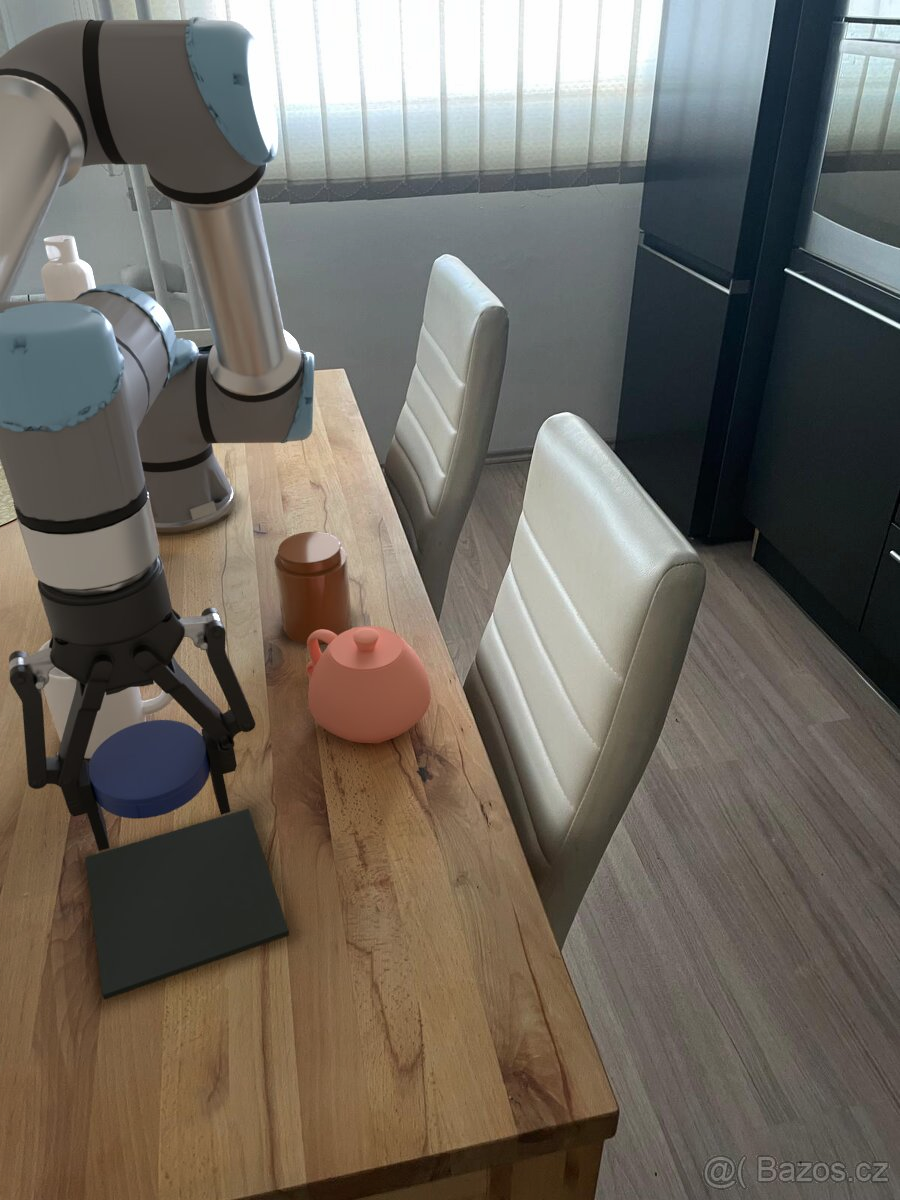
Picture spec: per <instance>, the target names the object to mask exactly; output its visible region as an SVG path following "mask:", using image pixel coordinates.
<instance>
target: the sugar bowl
mask: <svg viewBox="0 0 900 1200" xmlns="http://www.w3.org/2000/svg"><path fill="white" fill-rule="evenodd" d="M318 639H319V640H322V641H324V642H326V643H325V644H327V647H326V648H325V649H324V651H323V652H322V651H321V648H320V644H318ZM306 648H307V653H308V655H309V658H310V661H308V663H307V664H306V666H305V667H306V668H305V672H306V675H307V676H308V677H309V678H310V680H309V684H308V693H307V696H308V697H307V699H308V701H307V702H308V708H309V712H310V713H311V715H312V717H313V719H314V720H315V721H316V722H317V724H319V726H320V727H322V728H323V729H325V730H326V731H327V732H329V733H330V734H333V736H336V737H339V738H341V739H344V740H346V741H349V742H355V743H362V744H381V743H383V742H385V741H389V740H391V739H394V738H396V737H399V736H401V735H402V734H404V733H406V732H407V731H408V730H410V729H412V728H413V727H414V726H415V725H416V724H417V723H419V721H421V719H422V718H423V717H424V716H425V714H426V712H427V711H428V708H429V706H430V703H431V698H432V690H431V683H430V680H429V675H428V672H427V669H426V668H425V666H424V663H423V662H422V660H421V658H420V657H419V655H418V654H417V653H416V652H415V650H414V649H413V648H412V647H411V646H410V644H408V642H407V641H406V640H405V639H404V638H402V637H401V636H400V635H399V634H398V633H396V632H394V631H393V630H390V629H388V628H385V627H381V626H377V625H363V626H356V627H352V628H350V629H349V630H347V631H345V632H343V633H341V634H339V635H338V636H337V635H336V634H335V633H333V632H331V631H329V630H324V629H321V630H317V631H315V632H313V633H312V634H311V635H310V636H309V638H308V640H307V644H306Z"/></svg>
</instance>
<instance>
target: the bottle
mask: <svg viewBox="0 0 900 1200" xmlns="http://www.w3.org/2000/svg"><path fill="white" fill-rule="evenodd" d="M43 243H44V249H45V252H46V257H47V260H48V262H46V263H45V264H44V265H43V266H42V268H41V270H40V278H41V282H42V285H43V290H44V294H45V298H46V301H61V300H73V299H76V298H77V297H78V296H79V295H80V294H81V293H82V292H86V291H88V290H90V289H94V288H96V287H97V286H96V282H95V277H94V274H93V269H92V267H91V265H90V264H89V263H87V262H86V261H84V260H82V259H80V258H79V253H78V249H77V244H76V243H77V242H76V239H75V236H73V235H67V234H66V235H61V234H60V235H53V236H52V235H51V236H48V237H45V238H43Z"/></svg>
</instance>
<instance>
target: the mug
mask: <svg viewBox="0 0 900 1200" xmlns="http://www.w3.org/2000/svg"><path fill="white" fill-rule="evenodd" d="M50 641H51V638H50V639H49V640H47V641H46V642H45V643H43V644H42V645H41V646H40V647H39V649H38V650H37V652H39V651H41V650H44V649H47V648H49V644H50ZM76 681H77V680H76V679H74V678H72V677H71V676H69V675H67V674H66V673H64V672H62V671H61V670H59V669H58V668H56V667H54V668H52V669H51V670H50V672H49V682H48V683H47V684H46V685H45V687H44V688H43V689H42V690H43V693H44V695H45V696H44V697H45V699H46V702H47V705H48V708H49V711H50V715H51V718H52V721H53V725H54V727H55V730H56V732H57V736H58V739H59V741H60V742H61V740H62V737H63V733H64V730H65V726H66V722H67V719H68V715H69V711H70V708H71V704H72V701H73V697H74V693H75V690H76ZM173 700H174V698H173V697H172V696H171V695H170V694H169V693H168V694H166V693H165V692H164V691H163V690H161V692H160V694H158V695H157V696H156V697H154V698H150V699H146V700H143V699H142V693H141V689H140V687H129V688H127V689H125V690H123V691H120V692H118V693H114V694H110V695H106V692H105V695H104V698H103V701H102V705H101V708H100V710H99V711H98V712H97V715H96V718H95V722H94V725H93V729H92V732H91V736H90V739H89V743H88V746H87V749H86V753H85V756H84V759H86V760H87V759H88V760H90V759H91V757H92V755H93V754H94V752H95V751H96V749H97V748H98V747H99V746H100V745H101V744H102V743H103V742H104V741H105V740H106V739H108V738H109V737H110V736H112V735H113V734H115V733H116V732H118V731H120V730H122V729H124V728H127V727H129V726H132V725H135V724H138V723H142V722H146V721H147V717H146V716H147V715H152V714H155V713H157V712H160V711H162V710H163V709H164V708H166V707H167V706H169V705H170V704H171V702H172V701H173Z"/></svg>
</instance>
